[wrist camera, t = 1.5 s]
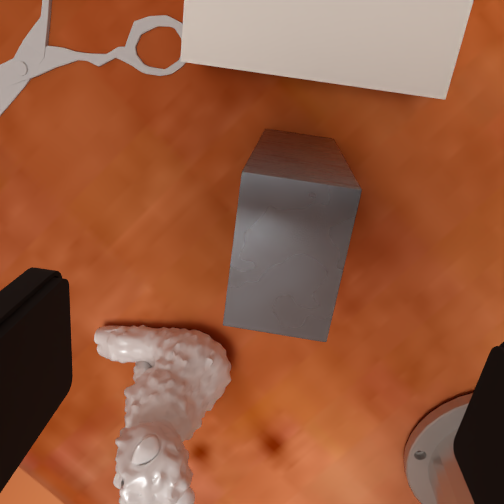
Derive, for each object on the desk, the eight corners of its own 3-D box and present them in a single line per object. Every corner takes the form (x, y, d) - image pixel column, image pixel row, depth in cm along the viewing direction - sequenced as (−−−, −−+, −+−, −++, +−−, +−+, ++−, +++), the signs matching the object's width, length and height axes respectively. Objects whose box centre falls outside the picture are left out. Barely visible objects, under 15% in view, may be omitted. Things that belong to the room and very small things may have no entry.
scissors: (222, 35, 24) (-25, 221, 29) (224, 37, 25) (-17, 217, 30) (96, -171, 21) (-152, 77, 27) (103, -163, 22) (-141, 77, 27)
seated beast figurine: (95, 324, 32) (-10, 457, 21) (200, 283, 30) (145, 407, 19) (158, 421, 35) (94, 583, 24) (258, 390, 33) (239, 551, 22)
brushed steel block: (333, 138, 26) (361, 190, 15) (314, 235, 28) (326, 342, 17) (265, 128, 26) (242, 171, 15) (251, 225, 28) (222, 325, 17)
